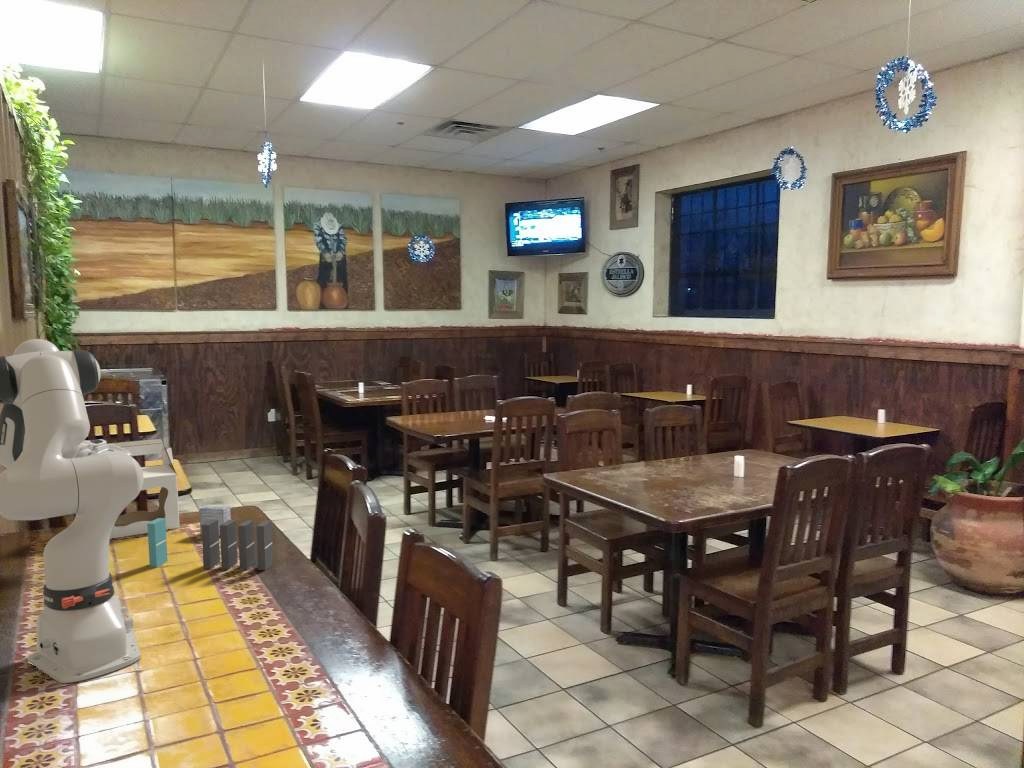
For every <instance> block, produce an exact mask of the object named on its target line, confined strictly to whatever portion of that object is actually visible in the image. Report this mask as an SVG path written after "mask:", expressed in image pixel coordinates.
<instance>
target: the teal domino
mask: <svg viewBox="0 0 1024 768" xmlns="http://www.w3.org/2000/svg"><path fill="white" fill-rule="evenodd" d="M147 527H148V533H147V539H148V540H147V542H148V557H149V558H148V559H149V568H155V567H157V568H159V567H160V566H162V565H163V563H164V564H166V563H167V562H168V545H167V543H168V542H167V530H166V524H165V518H157V519H155V520H153V521H151V522H149V523H147ZM166 561H167V562H166ZM158 566H159V567H158Z"/></svg>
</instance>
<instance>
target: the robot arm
mask: <svg viewBox="0 0 1024 768" xmlns="http://www.w3.org/2000/svg"><path fill="white" fill-rule="evenodd" d="M12 354H13V355H9V356H5V355H1V356H0V404H3V406H2V408H1V411H0V466H1V467H2V468H4V470H3V471H2V472H0V515H1V517H3V518H4V519H5V520H7V521H37V520H38V521H39V520H43V519H45V520H46V519H49V518H55V517H62V516H67V515H74V514H75V517H74V520H73V521H72V522H71V524H70V525H68V526H67V528H65V529H63V530H62V531H60V532H58V533H57V534H56V535H54V536H52V537H51V538H50V539H49V541H48V542H47V543H46V545H45V547H44V548H43V552H42V553H43V566H44V567H43V570H44V581H45V582H44V583H45V584H44V585H43V587H42V588H43V589H42V590H43V591H42V598H43V604H44V605H45V606H44V608H43V610H42V612H41V613H40V614H39V615H38V616H37V617H36V619H35V621H36V622H35V623H36V624H35V625H36V630H35V631H36V632H35V633H36V651H35V652H33V653H31V654H30V655H29V656H28V657H27V663H28V662H30V663H32V664H33V665H34V666H36V667H38V668H39V669H40V670H42V671H43V672H44V673H43V672H42V671H41V672H42V673H43V674H45V673H46V674H45V675H47V674H48V675H49V676H48V675H47V676H48V677H50V678H51V679H54V680H55V681H57V682H58V683H61V684H68V683H75V682H81V681H85V680H90V679H93V678H96V677H100V676H102V675H106V674H109V673H113V672H115V671H118V670H120V669H123V668H126V667H127V666H129V665H132V664H133V663H136V662H138V661H139V660H140V659H141V658H142V654H141V650H140V648H139V647H140V646H139V644H138V640H137V638H136V635H135V631H134V629H133V628H134V620H133V617H132V616H129V617H125V618H124V617H123V615H124V614H126V613H127V609H126V606H125V605H124V606H120V596H118V595H116V594H115V584H114V580H113V576H112V574H111V572H110V559H109V558H110V557H109V556H110V555H109V553H110V540H111V539H110V534H111V531H112V528H113V526H114V524H115V522H116V520H117V518H118V516H121V513H122V512H123V511H124V510H125V508H127V506H129V504H131V503H132V502H134V501H135V500H136V499H137V497H138V496H139V494H140V493H141V491H142V490H141V489H142V486H143V472H142V469H141V467H142V466H141V465H140V464H139V462H138V461H137V460H136V459H135V458H134V457H133V456H131V453H130V452H129V451H128V450H126V449H123V448H121V447H118V446H116V445H113V444H108V443H107V440H105V439H102V438H100V439H92V440H91V439H90V440H86V438H87V437H88V435H89V434H90V430H91V425H90V424H91V423H90V419H89V416H88V412H87V408H86V403H85V399H84V396H85V395H88V394H91V393H93V392H95V391H96V390H97V388H99V383H100V380H101V375H102V373H101V367H100V364H99V362H98V361H97V359H96V358H95V355H94V354H92V353H91V352H89V351H88V350H84V349H71V350H60V349H59V348H58V347H57V345H55V344H54V343H52V342H51V341H49V340H46V339H41V338H31V339H28V340H25V341H23V342H21V343H19V344H18V345H17V346H16V348H15V350H14V352H13V353H12ZM40 670H39V671H40Z"/></svg>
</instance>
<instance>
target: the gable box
mask: <svg viewBox="0 0 1024 768" xmlns="http://www.w3.org/2000/svg"><path fill="white" fill-rule="evenodd" d="M107 444H113V445H116V446H118V447H121V448H123V449H126V450H128V451H129V452H130V453H131V457H137V456H144V455H145V456H146V455H158V454H160V455H161V457H162V464H157V465H155V464H154V465H147V466H140V467H141V469H142V472H143V486H142V489H141V491H147V490H150V489H151V490H152V489H154V488H155V489H156V488H160V490H159V493H158V497H157V501H158V509H156V510H155V511H154V510H153V511H146V510H135V511H130V512H127V513H125V514H120V515H119V516H118V518H117V520H116V522H115V524H114V526H113V528H112V531H111V534H110V539H109V540H113V539H112V538H114V539H119V537H120V538H125V536H126V537H132V535H133V536H138V534H139V535H143V534H145V535H146V534H148V527H147V523H149V522H151V521H153V520H155V519H157V518H165V524H166V531H169V530H168V529H170V530H175V529H180V513H179V511H180V510H179V493H178V491H179V490H178V476H177V475H178V473H177V472H176V469H175V468H174V458H173V451H172V447H167V448H166V447H165V446H164V442H163V440H162V439H161V438H153V439H152V438H151V439H144V440H143V439H142V440H131V441H122V442H121V441H120V442H119V441H118V442H111V443H110V442H109V443H107Z"/></svg>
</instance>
